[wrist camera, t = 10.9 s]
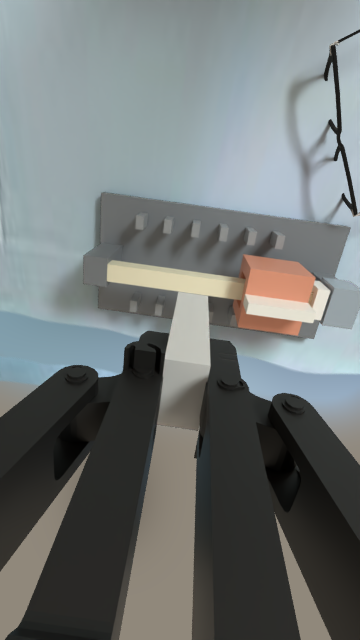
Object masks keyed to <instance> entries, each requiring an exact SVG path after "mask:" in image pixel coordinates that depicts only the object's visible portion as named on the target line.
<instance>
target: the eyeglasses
mask: <svg viewBox="0 0 360 640" xmlns="http://www.w3.org/2000/svg"><path fill="white" fill-rule="evenodd" d="M359 32H360V30H358V31H356V32H354V33H352V34H350V35H348V36H346V37H344V38H342V39H340V40H338V41H336V42H334V43H333V44H331V45H330V54H329V58H328V61H327V65H326V68H325V73H324V79H325V81H327V80H328V72H329V68H330V65H331V63H333V72H334V82H335V93H336V109H337V128H336V127H335V125H334V124H333V122H332V120H329V125H330V127H331V129H332V130H333V131H334V133H335V134H337V143H338V147H337V149H336V152H335V156H334V160H335V161H337V159H338V154H339V152H340V151H341V154H342V158H343V162H344V167H345V172H346V176H347V181H348V186H349V191H350V197H351V202H352V204H351V203H350V202H349V201H348V200H347V199H346V197H345V195H344V193H343V194H342V199H343V201H344V202H345V203H346V205H347V206H348V207H349V209H350V210H351V212H352V214H353V217H354V216H360V212H359V213H358V214H357V207H356V201H355V196H354V191H353V186H352V180H351V176H350V171H349V167H348V162H347V157H346V153H345V149H344V146H343V144H342V143H341V140H340V134H341V131H342V124H341V107H340V90H339V79H338V66H337V56H336V47H335V45H339V43H340V42H342V41H343V40H345V39H347V38H349V37H351V36H353V35H355V34H357V33H359ZM334 44H335V45H334Z"/></svg>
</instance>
